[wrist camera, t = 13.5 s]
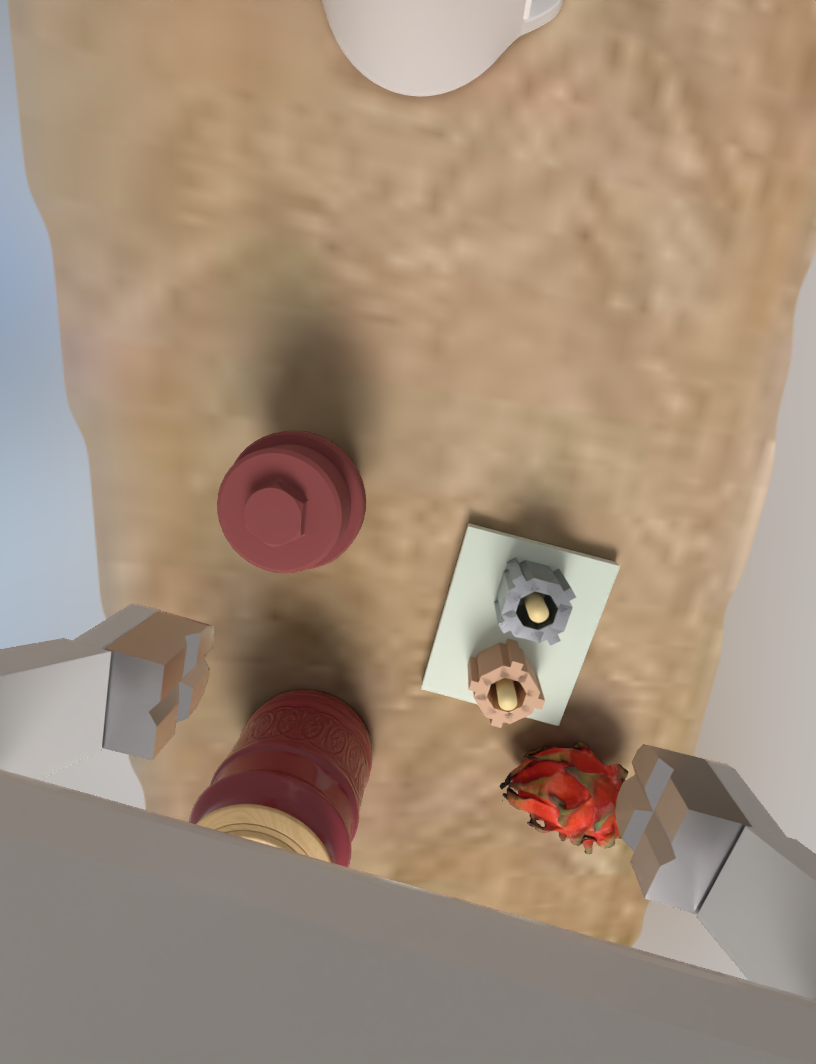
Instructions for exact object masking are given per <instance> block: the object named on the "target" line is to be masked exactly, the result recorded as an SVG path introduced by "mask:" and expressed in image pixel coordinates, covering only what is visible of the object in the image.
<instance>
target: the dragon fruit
mask: <svg viewBox="0 0 816 1064" xmlns="http://www.w3.org/2000/svg"><path fill="white" fill-rule="evenodd" d="M574 748H575V749H573V748H570V749H568V748H557V747H550V748H547V747H542V748H540V749H536V750H534V751H532V752H529V753H526V755H525V756H524V757H528V758H527V759H526V760H525V761H524V762H523V763H522V764H521V765H520V766H519V767H517V768H516V769H514V770H513V771H512V772H510V773H509V775H508V776H507V778H506V780H505V782H504V783H501V785H500V788H501V789H503V788H505V787H506V786H507V785H508V784H509V785H508V786H509V787H508V788H507V794H506V793H503V796H504V797H505V798H506V799H507V800H508V801H509V803H510V804H511V805H512V806H514V807H515V808H517V809H519V810H523V811H526V812H528V813H530V817H531V820H530V822H527V824H528V825H530V826H532V827H535V829H536V830H537V831H538V832H541V833H547V832H550V831H558V832H559V837H560V839H561V841H565V840H566V839H568V838H570V842H571V843H572V844H574V845H577V846H579V845H581V844H582V843H583V845H584V848H585V853H586V854H592V845H593V842H594V841H596V843H597V844H598V845H599V846H600V847H601V848H610V847H612V846H614V844H615V839H621V835H620V833H619V830H618V827H617V821H616V814H615V812H616V802H617V796H618V793H619V791H620V788H621V786H622V783H623V782H624V781H625V778H626V777H627V775H628V771H627V770H626V769H624V768H623V767H622V766H621V765H620V764H615V765H610V766H604V765H603V764H602V763H601V762H600V761H599V760H598V759H597V758H596V757H595V755H594V754H593V752H592V750H591V749H590V748H589V747H588V746H586V745H585V744H584V743H582V742H576V744H575V746H574ZM511 780H512V782H511ZM510 782H511V783H510ZM510 787H512V788H514V790H516V791H518V794H517V793H516V792H514V791H513V790H512V789H511V788H510ZM502 802H503V800H502ZM536 820H541V821H544V823H545V827H541V826H540V825H539V824H538V823H537V822H536Z"/></svg>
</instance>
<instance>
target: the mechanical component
mask: <svg viewBox="0 0 816 1064" xmlns="http://www.w3.org/2000/svg"><path fill="white" fill-rule="evenodd" d="M217 510H218V517H219V522H220V525H221V528H222V531H223V533H224V535H225V537H226V539H227V540H228V542H229V543H230V545H231V546H232V547H233V549H234V550H235V551H236V552H237V553H238V554H239V555H240V556H241V557H243V558H244V559H245V560H247V561H248V562H250V563H251V564H253V565H255V566H257V567H259V568H262V569H264V570H267V571H272V572H277V573H293V572H298V571H302V570H305V569H311V568H316V567H319V566H323V565H325V564H327V563H329V562H331V561H333V560H334V559H336V558H338V557H339V556H340V555H341V554H342V553H343V552H345V551H346V549H347V548H348V547H349V546H350V545H351V543H352V542H353V541H354V539H355V538H356V536H357V534H358V533H359V531H360V529H361V526H362V523H363V520H364V516H365V511H366V495H365V489H364V485H363V481H362V478H361V476H360V473H359V471H358V469H357V468H356V466H355V464H354V463H353V461H352V460H351V459H350V457H349V456H348V455H347V454H346V453H345V452H344V451H343V450H342V449H341V448H340V447H338V446H337V445H336V444H334V443H333V442H332V441H330V440H328V439H326V438H324V437H322V436H319V435H317V434H314V433H309V432H305V431H284V432H279V433H274V434H271V435H268V436H265V437H263V438H261V439H259V440H257V441H255V442H254V443H252V444H251V445H250V446H248V447H247V448H246V449H245V450H244V451H243V452H242V453H241V454H240V456H239V457H238V458H237V460H236V461H235V463H234V465H233V466H232V467H231V468H230V469H229V471H228V472H227V474H226V475H225V477H224V479H223V481H222V483H221V486H220V489H219V493H218V501H217Z"/></svg>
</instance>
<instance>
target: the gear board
mask: <svg viewBox="0 0 816 1064" xmlns="http://www.w3.org/2000/svg"><path fill="white" fill-rule="evenodd" d="M515 557H516V558H517V560H518V562H519V563H520V562H522V561H524V560H528V561H532V562H536V563H540V564H543V565H547V566H550V568H551V570H552V571H555V570H557V569H560V571H561V572H562V574H563V575H564V577H565V579H566V580H567V582H568V584H569V585H570V587H571V588H572V590H573V592H574V594H575V596H576V598H574V599H572V600H570V603H571V605H572V607H573V608H572V611H571V614H570V617H569V619H568V622H567V625H566V628H565V631H564V632H562V633H560V634H558V635H559V638H560V640H561V641H559V642H557V643H555V644H553V645H551V646H550V644H549V643H548V641H547V640H545V641H543V642H541V643H538V642H534V641H531V640H527V639H523V638H519V637H515V636H514V635H513V633H512V632H511V630H510V631H508V632H506V633H503V632H502V630H501V628H500V627H499V625H498V621H497V616H496V610H495V605H494V602H495V601H497V600H498V597H497V591H498V588H499V584H500V581H501V578H502V575H503V572H504V571H505V570H507V569H508V566H507V563H506V562H508V561H510V560H512V559H513V558H515ZM619 568H620V566H619V565H618V564H617V563H616V562H615V561H611V560H607V559H603V558H600V557H596V556H592V555H588V554H584V553H580V552H577V551H573V550H569V549H565V548H561V547H558V546H554V545H550V544H546V543H542V542H539V541H535V540H531V539H527V538H523V537H519V536H516V535H512V534H508V533H504V532H500V531H497V530H493V529H489V528H485V527H481V526H478V525H474V524H470V523H468V525H467V528H466V532H465V535H464V539H463V542H462V546H461V549H460V552H459V556H458V559H457V563H456V566H455V570H454V573H453V577H452V580H451V584H450V587H449V590H448V594H447V597H446V601H445V604H444V608H443V611H442V615H441V618H440V622H439V625H438V628H437V632H436V635H435V639H434V642H433V646H432V649H431V653H430V656H429V660H428V663H427V666H426V670H425V673H424V677H423V680H422V687H421V689H423V690H427V691H431V692H434V693H438V694H442V695H446V696H449V697H453V698H457V699H460V700H464V701H468V702H471V703H475V704H478V706H479V707H480V709H481V710H482V712H483V714H484V715H485V717H487V718H490V724H491V725H492V726H496V727H499V728H501V727H502V724H503V722H505V723H509V724H511V723H513V722H515V721H518V720H520V719H522V718H524V717H527V718H530V719H534V720H538V721H541V722H545V723H549V724H553V725H556V726H559V724H560V721H561V718H562V716H563V713H564V711H565V708H566V706H567V703H568V700H569V698H570V695H571V693H572V690H573V687H574V685H575V682H576V680H577V677H578V674H579V672H580V669H581V667H582V664H583V661H584V659H585V656H586V654H587V651H588V648H589V646H590V643H591V641H592V638H593V635H594V633H595V630H596V628H597V625H598V622H599V620H600V617H601V615H602V612H603V609H604V607H605V604H606V602H607V599H608V596H609V594H610V591H611V589H612V586H613V583H614V581H615V578H616V576H617V573H618V570H619ZM545 595H546V594H543V593H539V592H533V593H531V594H529V595H527V596H525V597H523V598H521V599H520V601H519V604H520V605H523V606H526V609H527V611H528V614H529V617H530V619H531V620H532V621H534V622H537V623H540V622H543V621H545V620H546V619H547V618H548V616H549V611H548V608H547V606H546V604H545V602H544V598H545Z"/></svg>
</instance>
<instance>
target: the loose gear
mask: <svg viewBox="0 0 816 1064" xmlns="http://www.w3.org/2000/svg"><path fill="white" fill-rule="evenodd" d="M506 563H507V566H508V569H507V570H505V571H504V572H503V575H502V578H501V581H500V584H499V588H498V591H497V597H498V600H497V601H495V602H494V605H495V610H496V616H497V621H498V625H499V627H500V628H501V630H502V632H503V633H506V632H508V631H510V630H511V632H512V633H513V635H514V636H515V637H519V638H523V639H527V640H531V641H534V642H538V643H541V642H543V641H545V640H547V641H548V643H549V644H550V646H551V645H553V644H555V643H557V642H559V641H561V640H560V638H559V635H558V634H560V633H562V632H564V631H565V628H566V625H567V622H568V619H569V617H570V614H571V611H572V608H573V607H572V605H571V603H570V600H572V599H574V598H576V596H575V594H574V592H573V590H572V588H571V587H570V585H569V584H568V582H567V580H566V579H565V577H564V575H563V574H562V572H561V571H560V569H557V570H555V571H552V570H551V568H550V566H547V565H543V564H540V563H536V562H532V561H528V560H524V561H522V562H520V563H519V562H518V560H517V558H516V557H515V558H513V559H512V560H510V561H508V562H506ZM533 592H539V593H543V594H546V595H545V598H544V602H545V604H546V606H547V608H548V611H549V616H548V618H547V619H546V620H545V621H543V622H540V623H537V622H534V621H532V620H531V619H530V617H529V614H528V611H527V609H526V606H523V605H520V604H519V601H520V599H521V598H523V597H525V596H527V595H529V594H531V593H533Z"/></svg>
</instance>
